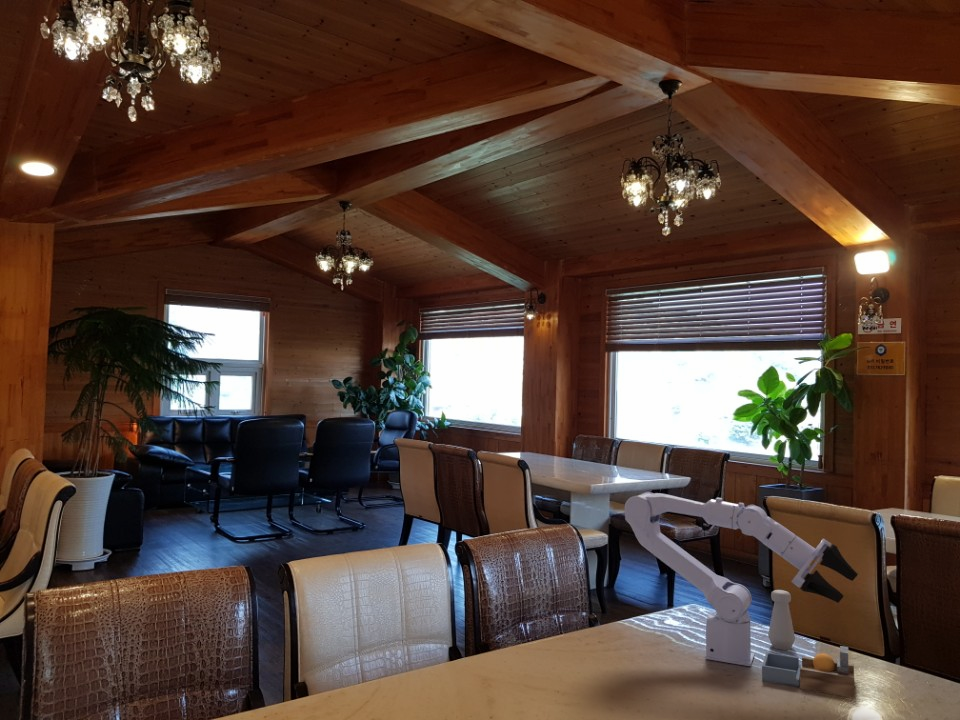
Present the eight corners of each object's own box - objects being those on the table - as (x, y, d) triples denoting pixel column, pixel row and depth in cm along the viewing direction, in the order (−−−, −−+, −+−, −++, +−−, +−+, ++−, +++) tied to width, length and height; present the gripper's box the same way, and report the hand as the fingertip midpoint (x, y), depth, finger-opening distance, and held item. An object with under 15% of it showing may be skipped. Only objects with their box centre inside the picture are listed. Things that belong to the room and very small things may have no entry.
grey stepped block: (837, 678, 144) (837, 652, 144) (837, 670, 149) (837, 644, 149) (848, 680, 143) (848, 654, 143) (848, 671, 148) (848, 646, 148)
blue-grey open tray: (762, 680, 149) (761, 665, 149) (766, 666, 157) (766, 652, 157) (798, 687, 146) (798, 672, 146) (801, 672, 154) (801, 657, 154)
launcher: (799, 688, 145) (799, 670, 145) (802, 671, 154) (802, 654, 154) (854, 698, 141) (854, 679, 141) (854, 680, 149) (853, 663, 150)
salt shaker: (797, 652, 165) (796, 595, 166) (771, 650, 166) (770, 593, 167) (791, 643, 171) (791, 588, 172) (766, 641, 172) (765, 587, 173)
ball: (812, 675, 147) (812, 655, 147) (813, 668, 150) (813, 649, 150) (834, 678, 145) (834, 658, 145) (834, 672, 148) (834, 652, 149)
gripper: (781, 554, 149) (843, 599, 143) (810, 517, 158) (870, 557, 151) (768, 573, 154) (827, 617, 148) (797, 536, 162) (854, 576, 156)
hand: (848, 588), depth 150 cm, fingers open, 7 cm apart
